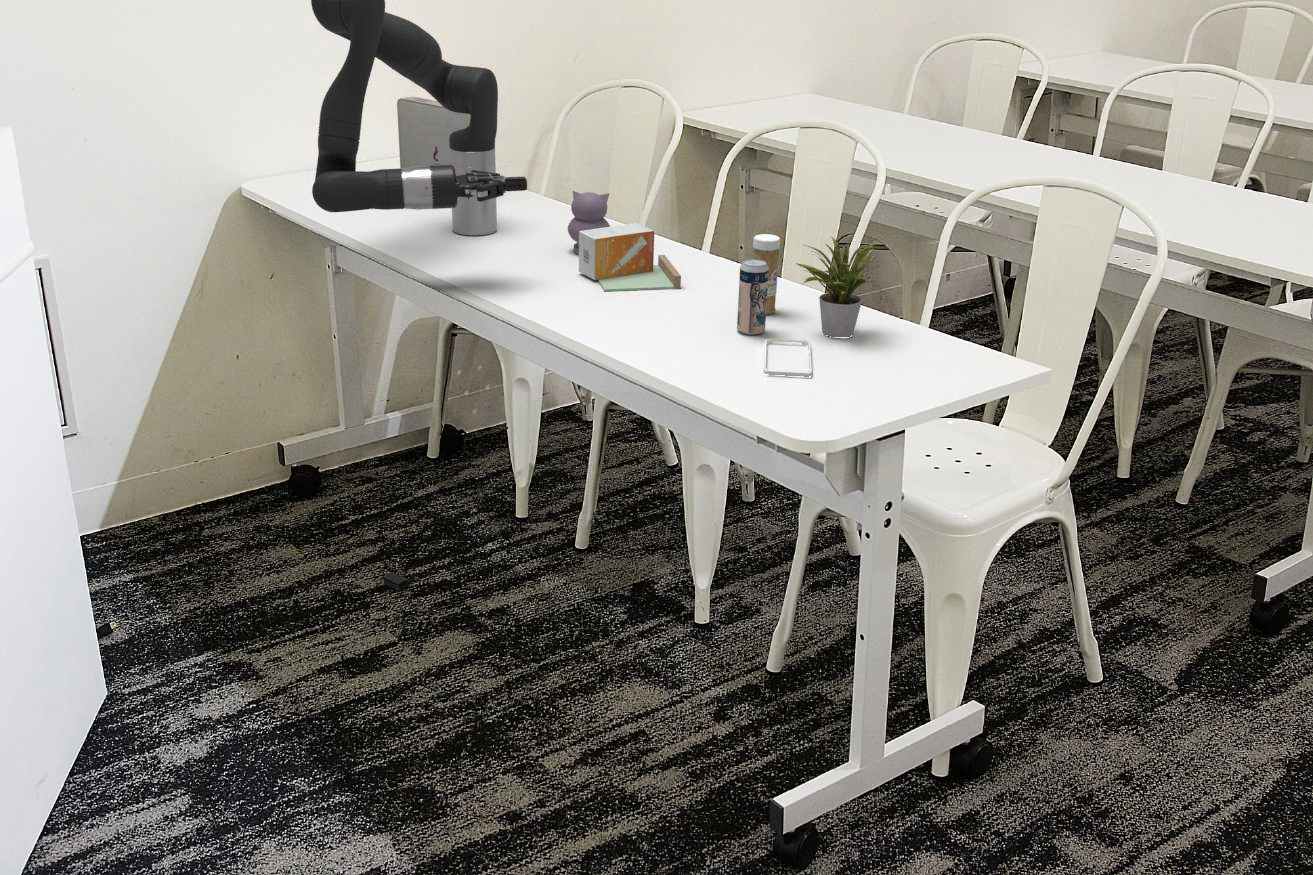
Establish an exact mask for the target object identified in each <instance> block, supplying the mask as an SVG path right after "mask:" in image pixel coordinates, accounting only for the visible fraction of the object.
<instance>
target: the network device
mask: <svg viewBox="0 0 1313 875" xmlns="http://www.w3.org/2000/svg"><path fill="white" fill-rule="evenodd" d="M396 109H397V110H396V114H397V129H398V131H397V132H398V148H399V149H398V150H399V151H398V152H399V165H400V168H401V169H402V168H409V167H415V166H439V165H450V147H449V137H450V134H451V133H453V132H455V131H458V130H461V129H465V128H467V127H468V126H469V124H470V116H471V114H464V113H456V112H452V111H450V110H448V109H446V108H445V107H443V106H442V105H441V104H440V103H439V102H438V101H437V100H435V99H434V100H433V99H428V98H423V97H418V96H417V97H416V96H407V97H402V98H401V97H400V98H398V99H397V101H396ZM400 168H399V169H400Z"/></svg>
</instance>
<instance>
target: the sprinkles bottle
mask: <svg viewBox="0 0 1313 875" xmlns="http://www.w3.org/2000/svg"><path fill="white" fill-rule="evenodd" d="M752 242H753V245H752V247H753V259H759V260H763V261H766V263H767V266H768V268H769V275H768V291H767V307H766V316H767V315H768V316H769V315H773V314H774V313H776V301H777V300H776V299H777V298H776V296H777V292H778V291H777V288H778V287H777V286H778V274H779V273H778V270H779V269H778V264H779V252H780V247H781V238H780V237H779V236H778V235H775V234H770V233H769V234H767V233H765V234H756V235H754V237H753V241H752Z"/></svg>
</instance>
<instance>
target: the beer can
mask: <svg viewBox="0 0 1313 875" xmlns="http://www.w3.org/2000/svg"><path fill="white" fill-rule="evenodd" d="M768 275H769V268H768V266H767V263H766V261H763V260H759V259H754V258H750V259H749V258H748V259H745V260H743V261H742V262H741V265H740V266H739V280H738V296H737V297H738V300H737V317H736V319H737V320H736V329H737V331H738V332H740V333H741V332H742V333H741V334H743V333H745V334H744V335H746V334H748V335H749V336H758V335H760V334H762V333H764V332H765V331H766V324H767V323H766V321H767V319H766V318H767V315H766V307H767V291H768ZM757 334H758V335H757ZM748 335H747V336H748Z"/></svg>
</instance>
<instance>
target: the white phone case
mask: <svg viewBox="0 0 1313 875" xmlns="http://www.w3.org/2000/svg"><path fill="white" fill-rule="evenodd" d="M774 342H782V343H783V342H785V343H786V342H787V343H801V346H802V345H807V346H808V347H807V346H806V347H807V351H808V350H809V353H808V369H810V371H806V372H805V371H787V370H773V369H772V370H770V369H768V368H767V346H768V345H774ZM767 344H768V345H767ZM811 349H812V348H811V342H810V340H799V339H779V338H767V339H765V340H764V350H765V351H764V353H763V354H764V356H763V374H764V373H765V374H769V375H785V376H804V377H809V376H811V375H812V376H813V374H812V373H813V369H812V367H813V366H812V351H811ZM812 376H811V377H812Z"/></svg>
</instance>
